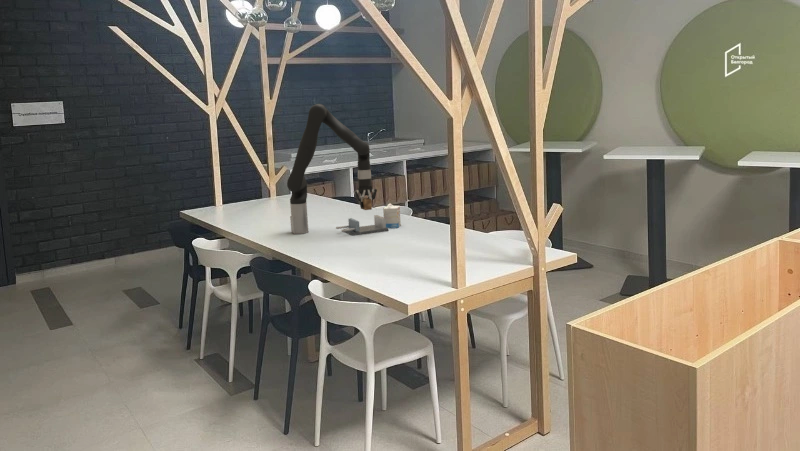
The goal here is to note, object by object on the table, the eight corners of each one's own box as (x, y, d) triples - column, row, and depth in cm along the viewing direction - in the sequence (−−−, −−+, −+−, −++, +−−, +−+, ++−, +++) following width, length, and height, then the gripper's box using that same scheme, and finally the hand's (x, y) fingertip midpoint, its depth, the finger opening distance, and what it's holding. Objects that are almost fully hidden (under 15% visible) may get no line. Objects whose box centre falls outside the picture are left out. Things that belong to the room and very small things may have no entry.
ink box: (398, 228, 394) (397, 205, 391) (383, 228, 395) (382, 205, 393) (400, 225, 402) (400, 202, 399) (387, 225, 404) (386, 202, 401)
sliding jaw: (342, 233, 377) (342, 223, 376) (335, 229, 387) (335, 220, 386) (359, 231, 381) (359, 221, 380) (352, 227, 391) (351, 218, 390)
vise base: (352, 235, 378) (351, 222, 377) (343, 231, 391) (342, 218, 389) (388, 230, 387) (387, 218, 386) (378, 226, 399) (378, 214, 398)
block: (365, 210, 383) (364, 199, 381) (360, 208, 389) (360, 198, 388) (371, 209, 384) (371, 199, 383) (367, 207, 391) (366, 197, 389)
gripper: (355, 179, 377) (356, 210, 380) (378, 177, 383) (380, 207, 386) (350, 178, 384) (352, 208, 387) (373, 175, 389) (375, 205, 393)
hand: (366, 207), depth 386 cm, fingers closed on block, 4 cm apart
